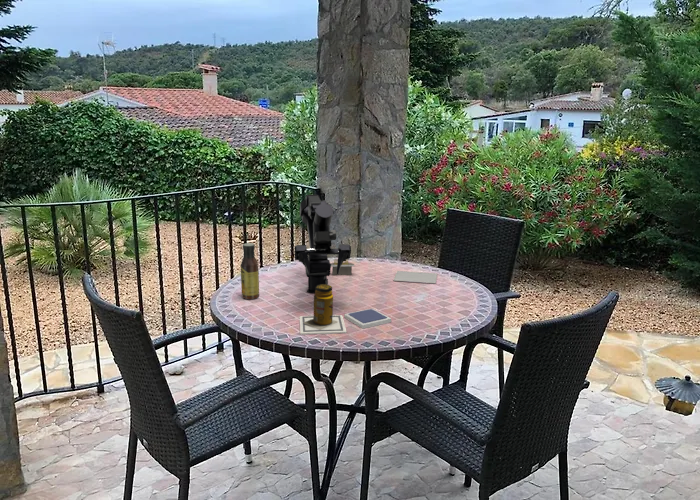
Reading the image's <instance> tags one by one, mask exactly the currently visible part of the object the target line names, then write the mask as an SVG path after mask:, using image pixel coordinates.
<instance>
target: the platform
mask: <svg viewBox="0 0 700 500" xmlns="http://www.w3.org/2000/svg"><path fill="white" fill-rule="evenodd" d="M333 261H334V262H330V263H331V269H332V271H331V272H332V276H352V274H353V273H352V272H353V270H352V269H353V267H355V263H352V262H349V260H348V259H346V261H344V262H343V263H342V265H341V267H340V270H339V274H338V275H337V262H338V259H334V260H333Z"/></svg>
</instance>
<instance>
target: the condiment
mask: <svg viewBox="0 0 700 500" xmlns="http://www.w3.org/2000/svg"><path fill="white" fill-rule="evenodd" d="M315 289H316V290H315V293H313V294H314V295H313V316H314V317H313V319H311V320H309V321H306V322H303V323H305V324H307V325H309V326H312V327H314V328H317V329H320V330H321V329H323V328H325V327H328V326H330V325H333V324H335V323H337V321H334V320H332V318H333V315H334V295H333V287H332V286H331V285H330V284H328V285H326V284H321V285H317V286H316V288H315Z"/></svg>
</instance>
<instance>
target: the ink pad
mask: <svg viewBox="0 0 700 500" xmlns="http://www.w3.org/2000/svg"><path fill="white" fill-rule="evenodd" d="M343 319H345V320H348V321H349V322H350V323H352V324H353V325H354V324H355V326H357V327H359V328H360V329H363V330H364V329H368V328H372V327H376V326H380V325H384V324H389V323H392V318H391V317H389V316H387V315H386V314H384V313H382V312H380V311H378V310H377V309H375V308H368V309H367V308H366V309H362V310H358V311H353V312H352V311H351V312H348V313H344V316H343Z"/></svg>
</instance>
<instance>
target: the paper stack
mask: <svg viewBox="0 0 700 500" xmlns="http://www.w3.org/2000/svg"><path fill="white" fill-rule="evenodd" d="M437 277H438V273H436V272H434V273H433V272H423V271H422V272H419V271H403V270H397V271H396V273H395V276H394V278H393V281H394V282H408V283H409V282H410V283H424V284H437V280H438V279H437Z"/></svg>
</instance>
